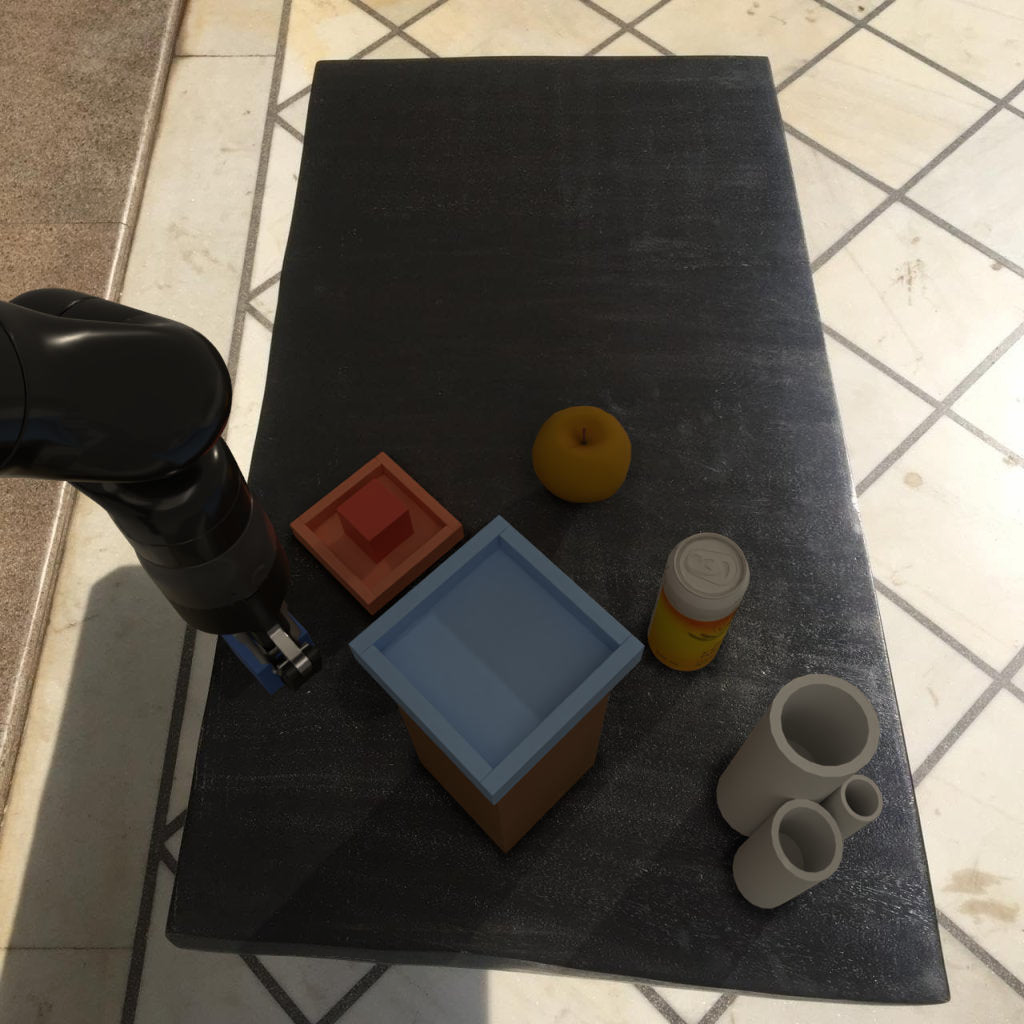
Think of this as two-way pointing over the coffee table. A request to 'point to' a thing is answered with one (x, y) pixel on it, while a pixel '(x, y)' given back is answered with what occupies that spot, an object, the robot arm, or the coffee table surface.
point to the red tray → (401, 565)
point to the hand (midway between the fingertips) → (276, 653)
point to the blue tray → (500, 677)
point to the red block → (375, 520)
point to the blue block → (256, 667)
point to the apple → (582, 454)
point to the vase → (800, 787)
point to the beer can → (697, 600)
